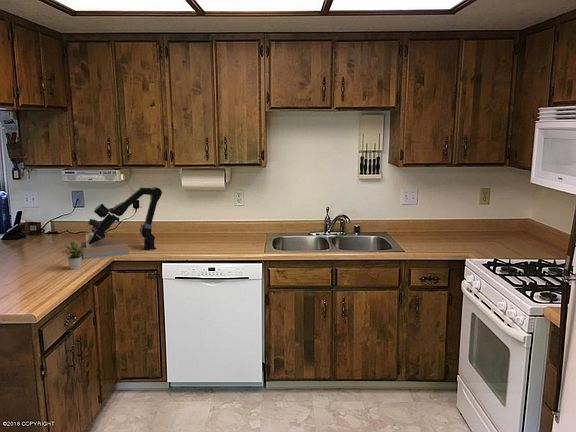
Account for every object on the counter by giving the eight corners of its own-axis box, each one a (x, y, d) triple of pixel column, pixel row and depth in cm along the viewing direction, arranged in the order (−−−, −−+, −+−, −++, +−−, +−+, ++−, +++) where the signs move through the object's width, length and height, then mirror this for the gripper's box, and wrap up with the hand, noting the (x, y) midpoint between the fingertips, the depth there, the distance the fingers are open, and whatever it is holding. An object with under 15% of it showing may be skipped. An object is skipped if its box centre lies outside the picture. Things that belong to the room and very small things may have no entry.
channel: (124, 247, 309) (123, 238, 308) (128, 254, 294) (128, 244, 292) (81, 251, 298) (80, 242, 297) (83, 258, 282) (83, 248, 281)
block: (95, 248, 295) (94, 232, 294) (96, 250, 291) (95, 233, 289) (86, 248, 293) (85, 232, 291) (87, 250, 289) (86, 234, 287)
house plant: (55, 267, 264) (53, 238, 261) (81, 263, 274) (79, 234, 271) (65, 273, 254) (63, 242, 251) (91, 268, 264) (89, 238, 261)
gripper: (94, 211, 298) (76, 230, 295) (98, 216, 282) (78, 236, 279) (109, 223, 303) (91, 242, 300) (113, 228, 287) (94, 248, 284)
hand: (88, 242), depth 291 cm, fingers open, 9 cm apart
